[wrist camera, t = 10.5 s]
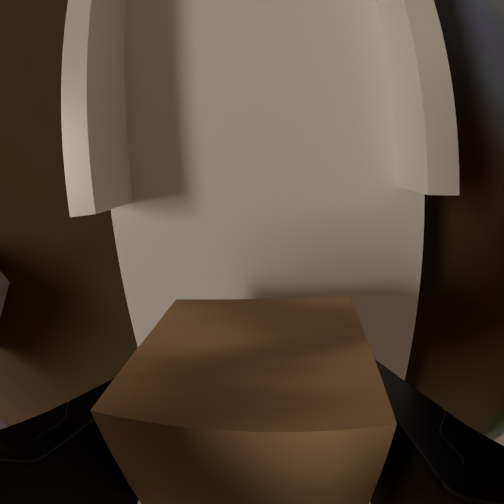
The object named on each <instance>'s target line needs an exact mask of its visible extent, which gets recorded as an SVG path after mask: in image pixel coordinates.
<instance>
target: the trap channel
mask: <svg viewBox="0 0 504 504" xmlns="http://www.w3.org/2000/svg"><path fill="white" fill-rule="evenodd" d="M61 119H62V143H63V158H64V170H65V180H66V190H67V198H68V206H69V213H70V217H76V216H84V215H92V214H98V213H101V212H104V211H107V210H110V209H111V214H112V222H113V228H114V235H115V241H116V247H117V253H118V259H119V265H120V270H121V275H122V280H123V285H124V290H125V295H126V300H127V304H128V309H129V313H130V317H131V322H132V326H133V330H134V334H135V338H136V342H137V346H138V347H139V346H140V344H141V343H142V342H143V341H144V339H145V338H146V337H147V336H148V334H149V333H150V332H151V330H152V329H153V328H154V327H155V325H156V324H157V323H158V322H159V320H160V319H161V318H162V316H163V315H164V314H165V313H166V311H167V310H168V309H169V308H170V306H171V305H172V304H173V303H174V301H175V300H176V299H272V298H304V297H329V296H350V297H351V300H352V302H353V305H354V307H355V310H356V312H357V315H358V317H359V320H360V322H361V325H362V327H363V330H364V333H365V335H366V338H367V340H368V343H369V346H370V348H371V351H372V354H373V356H374V359H376V360H377V361H378V362H380V363H381V364H382V365H384V366H385V367H386V368H388V369H389V370H391V371H392V372H393V373H395V374H396V375H397V376H399V377H400V378H401V379H403V380H404V381H405V377H406V372H407V367H408V362H409V357H410V351H411V346H412V340H413V334H414V327H415V321H416V314H417V306H418V298H419V289H420V279H421V268H422V255H423V238H424V206H425V194H426V195H459V151H458V134H457V122H456V112H455V103H454V95H453V87H452V81H451V74H450V68H449V63H448V57H447V52H446V47H445V42H444V38H443V34H442V29H441V25H440V21H439V17H438V13H437V10H436V6H435V3H434V0H68V5H67V13H66V21H65V31H64V42H63V56H62V79H61Z"/></svg>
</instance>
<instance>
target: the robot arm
mask: <svg viewBox="0 0 504 504" xmlns="http://www.w3.org/2000/svg"><path fill="white" fill-rule="evenodd" d="M375 362H376V364H377V367H378V370H379V373H380V375H381V378H382V381H383V384H384V387H385V390H386V392H387V395H388V398H389V401H390V404H391V407H392V410H393V413H394V416H395V419H396V422H397V426H396V429H395V432H394V436H393V439H392V442H391V445H390V448H389V451H388V454H387V457H386V460H385V463H384V466H383V469H382V471H381V474H380V477H379V479H378V482H377V485H376V487H375V490H374V492H373V495H372V497H371V500H370V502H371V504H504V446H502V445H500V444H499V443H497V442H495V441H493V440H491V439H489V438H488V437H486V436H484V435H482V434H481V433H479V432H477V431H476V430H474V429H472V428H470V427H469V426H467V425H466V424H464V423H463V422H461V421H460V420H458V419H457V418H455V417H454V416H453V415H451V414H450V413H448V412H447V411H445V410H444V409H443V408H441V407H440V406H439V405H437V404H436V403H434V402H433V401H432V400H430V399H429V398H428V397H426V396H425V395H423V394H422V393H421V392H419V391H418V390H417V389H415V388H414V387H412V386H411V385H410V384H408V383H407V382H406V381H404V380H403V379H401V378H400V377H399V376H397V375H396V374H395V373H393V372H392V371H391V370H389V369H388V368H386V367H385V366H384V365H382V364H381V363H380V362H378V361H377V360H376V359H375ZM113 380H114V379H112V380H110V381H108V382H106V383H104V384H102V385H100V386H98V387H96V388H94V389H92V390H90V391H88V392H86V393H85V394H83V395H81V396H79V397H77V398H75V399H73V400H71V401H69V403H67V402H66V403H64V404H62V405H60V406H58V407H56V408H54V409H52V410H50V411H48V412H45V413H43V414H41V415H38V416H36V417H33V418H31V419H28V420H26V421H23V422H20V423H18V424H15V425H12V426H9V427H7V428H4V429H1V430H0V504H137V503H138V500H139V499H138V498H137V496H136V494H135V493H134V491H133V490H132V488H131V486H130V485H129V483H128V481H127V480H126V478H125V476H124V475H123V473H122V471H121V470H120V468H119V466H118V464H117V462H116V461H115V459H114V457H113V455H112V453H111V452H110V450H109V448H108V446H107V444H106V442H105V440H104V438H103V436H102V434H101V432H100V430H99V428H98V426H97V424H96V422H95V420H94V418H93V415H92V413H91V411H90V410H91V409H92V407H93V406H94V405H95V403H96V402H97V401H98V399H99V398H100V397H101V395H102V394H103V393H104V391H105V390H106V389H107V387H108V386H109V385H110V383H111V382H112V381H113Z"/></svg>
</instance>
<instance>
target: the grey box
mask: <svg viewBox="0 0 504 504" xmlns="http://www.w3.org/2000/svg"><path fill="white" fill-rule="evenodd" d="M9 283H10V282H9V281H8V280H7V279H6V277H5V276H4V275H3V274H2V273H1V271H0V318H1V314H2V309H3V305H4V301H5V298H6V294H7V290H8V287H9Z"/></svg>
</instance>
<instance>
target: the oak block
mask: <svg viewBox="0 0 504 504" xmlns="http://www.w3.org/2000/svg"><path fill="white" fill-rule="evenodd" d="M90 411H91V413H92V415H93V418H94V420H95V422H96V424H97V426H98V428H99V430H100V432H101V434H102V436H103V438H104V440H105V442H106V444H107V446H108V448H109V450H110V452H111V453H112V455H113V457H114V459H115V461H116V462H117V464H118V466H119V468H120V470H121V471H122V473H123V475H124V476H125V478H126V480H127V481H128V483H129V485H130V486H131V488H132V490H133V491H134V493H135V494H136V496H137V498H138V499H139V501H140V502H141V504H369V502H370V500H371V497H372V495H373V492H374V490H375V487H376V485H377V482H378V479H379V477H380V474H381V471H382V469H383V466H384V463H385V460H386V457H387V454H388V451H389V448H390V445H391V442H392V439H393V436H394V432H395V429H396V426H397V422H396V419H395V416H394V413H393V410H392V407H391V404H390V401H389V398H388V395H387V392H386V390H385V387H384V384H383V381H382V378H381V375H380V373H379V370H378V367H377V364H376V362H375V359H374V356H373V354H372V351H371V348H370V346H369V343H368V340H367V338H366V335H365V333H364V330H363V327H362V325H361V322H360V320H359V317H358V315H357V312H356V310H355V307H354V305H353V302H352V300H351V297H350V296H329V297H304V298H272V299H176V300H175V301H174V303H173V304H172V305H171V306H170V308H169V309H168V310H167V311H166V313H165V314H164V315H163V316H162V318H161V319H160V320H159V322H158V323H157V324H156V325H155V327H154V328H153V329H152V330H151V332H150V333H149V334H148V336H147V337H146V338H145V339H144V341H143V342H142V343H141V344H140V346H139V347H138V348H137V350H136V351H135V352H134V354H133V355H132V356H131V357H130V359H129V360H128V361H127V363H126V364H125V365H124V366H123V368H122V369H121V370H120V372H119V373H118V374H117V376H116V377H115V378H114V380H113V381H112V382H111V383H110V385H109V386H108V387H107V389H106V390H105V391H104V393H103V394H102V395H101V397H100V398H99V399H98V401H97V402H96V403H95V405H94V406H93V407H92V409H91V410H90Z"/></svg>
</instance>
